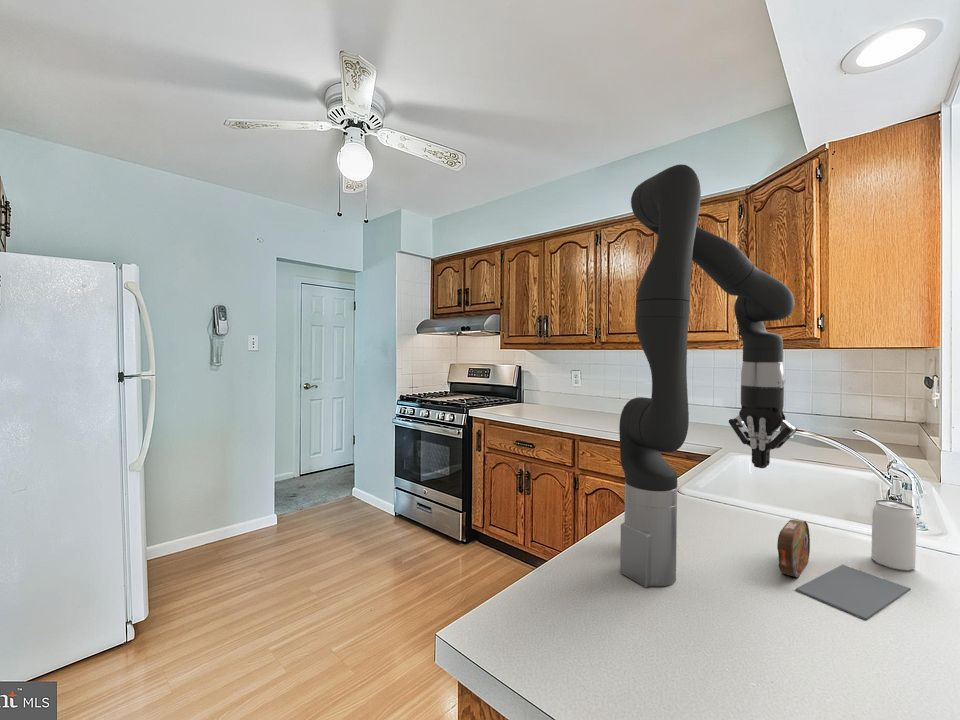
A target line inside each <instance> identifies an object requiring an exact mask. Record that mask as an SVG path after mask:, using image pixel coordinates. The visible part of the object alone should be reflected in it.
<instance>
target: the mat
mask: <svg viewBox="0 0 960 720" xmlns="http://www.w3.org/2000/svg"><path fill="white" fill-rule="evenodd" d="M795 591H796V592H798V593H801V594H804V595H806V596H807V597H810V598H813V599H815V600H818V601H820V602H822V603H823V604H826V605H827V604H828V605H830V606H832V607H834V608H836V609H839V610H841V611H844V612H846V613H848V614H851V615H853V616H856V617H858V618H859V619H863V620H864V621H867V620H869V619H870V618H872V617H873V616H875V615H876V614H878V613H879V612H881V611H882V610H884V609H885V608H886V607H888V606H890V604H892V603H894V601H896V600H898V599H899V598H900V597H902V596H904V595H905V594H906V593H908V592H910V591H911V587H909V586H905V585H902V584H900V583H896V582H893V581H890V580H888V579H885V578H884V577H880V576H877V575H874V574H871V573H868V572H865V571H862V570H861V569H857V568H854V567H852V566H851V567H850V566H848V565H845V564H841V565H839V566H837V567H835V568H833V569H831V570H829V571H827V572H825V573H824V574H823V573H822V574H821V575H819V576H818V577H814V578H813V579H812V580H810V581H807V582H806V583H804V584H802V585H799V586H797V587H796V588H795Z"/></svg>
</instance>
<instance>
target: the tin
mask: <svg viewBox="0 0 960 720" xmlns="http://www.w3.org/2000/svg"><path fill="white" fill-rule="evenodd" d="M810 536H811V535H810V529H809V525H808V522H807V521H806V520H798V519H789V520H788V522H787V523H786V524H784V526H783V527H782V528H781V529H780V531H779V534H778V537H777V543H776V544H777V545H776V546H777V554H778V569H779V571H780V573H781V574H784V575H786V576H790V577H794V578H800V576H801V575H802V573H803V571H804V570H805V568H806V566H807V565H808V563H809V560H810V551H811V550H810V549H811V539H810Z"/></svg>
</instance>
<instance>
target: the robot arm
mask: <svg viewBox="0 0 960 720" xmlns="http://www.w3.org/2000/svg"><path fill="white" fill-rule="evenodd" d="M701 191H702V189H701V184H700V179H699V176H698V175H697V173H696V172H695V170H694V169H693V168H692V167H691V166H689V165H687V164H676V165H673V166H670V167H667V168H665V169H663V170H661V171H660V172H658V173H657V174H655V175H653V176H651V177H649V178H647V179H645V180H644V181H642V182H641V183H639V184H638V185H637V186H636V187H635V188H634V190H633V191H632V194H631V199H630V207H631V209H632V210H631V211H632V213H633V215H634V217H635V218H636V220H638V222H640V223H641V224H642V225H643V226H644V227H646V228H647V229H648V230H650V231H651V232H652V233H654V234H655V235H656V236H657V242H656V246H655V248H654V252H653V254H652V257H651V258H650V261H649V264H648V265H647V267H646V269H645V271H644V273H643V276H642V278H641V280H640V283H639V285H638V288H637V292H636V299H635V302H636V303H635V317H634V318H635V319H634V322H635V323H634V327H635V332H636V335H637V339H638V341H639V344H640V346H641V348H642V351H643V353H644V355H645V357H646V359H647V362H648V365H649V369H650V373H651V374H650V375H651V397H642V396H640V397H634V398H632V399H629V401H627V402H626V404H625V405H624V406H623V408H622V411H621V414H620V417H619V426H618V427H619V430H618V431H619V432H618V433H619V434H618V435H619V453H620V455H619V456H620V465H621V467H622V470H623V473H624V518H623V519H624V520H623V521H624V522H622V523H620V544H619V545H620V546H619V547H620V551H619V552H620V559H619V560H620V562H619V564H620V565H619V566H620V567H619V573H620V574H622V575H624V576H625V577H627V578H629V579H631V580H632V581H635V582H636V583H637V584H640V585H641V586H643V587H645V588H648V587H667V586H671V585H673V584H674V583H675V582H676V580H677V578H676V577H677V537H678V536H677V535H678V534H677V529H678V522H677V520H678V474H677V472H676V470H675V468H673V467H672V466H671V465H670V464H669V463H668V462H667V461H666V460H665V458H664V456H663V455H662V453H669V454H670V453H674V452H677V451H678V450H679V449H680V448H681V447H682V446H683V445H684V443H685V441H686V439H687V435H688V431H689V422H690V421H689V419H690V418H689V417H690V416H689V413H690V412H689V399H688V395H689V394H688V380H687V379H688V376H687V375H688V374H687V372H688V371H687V364H688V362H687V360H688V334H689V333H688V332H689V322H690V308H691V307H690V306H691V303H690V302H691V281H692V279H691V277H692V265H693V262H694V263H695V264H696V265H697V266H699V268H701V270H703V271H704V272H705V273H706V275H708V276H709V278H711V280H713V282H715V284H716V285H718V287H719V288H720V289H721V290H722V291H724V292H725V293H726V294H728V295H730V296H736V299H735V301H734V308H733V309H734V316H735V319H736V323H737V326H738V330H739V334H740V336H741V337H740V338H741V340H742V364H741V365H742V366H741V370H740V372H741V373H740V406H741V408H740V410H739V412H738V415H737V416H736V417H734V418H730V419H729V420H728V424H729V426H731V428H732V429H733V431H734V432H735V434H736V436H737V437H738V438H739V440H740V441H741V443H742V444H743V445H747V446H749V447H750V449H751V463H752V465H753V466H754V468H759V469H766V468H767V466H769V465H770V464H771V463H770V462H771V461H770V460H771V458H770V457H771V455H770V453H771V450H774V449H780V448H781V447H782V446H783V445H784V444H785V443H787V441H788V440H789V439H791V437H792V436H793V435H794V434H796V433H797V432H798V427H797V426H796V425H791V423H789V422H788V421H787V420H786V416H785V414H784V411H783V410H784V400H785V399H784V397H785V394H784V393H785V381H786V380H785V372H784V371H785V369H784V363H783V362H784V340H783V337H782V336H781V335H780V334H778V333H774V332H769V331H768V330H767V329H766V326H765V323H764V322H770V321H771V322H773V321H781V320H783V319H786V318H788V317H789V316H790V315H791V314H792V312H793V311H794V308H795V298H794V295H793V293H792V291H791V290H790V289H789V287H788V286H787V285H786V284H784V283H783V282H782V281H780V279H779V280H778V279H777V278H775V277H774V276H772V275H770V274H769V273H767V272H765V271H763V270H762V269H759V268H758V267H756V266H755V264H754V263H753V262H752V261H751V260H750V259H749V258H748V256H747V255H746V254H744V253H743V251H742V250H741V249H739V248H738V246H736V245H735V244H734V243H732V242H730V241H729V240H727V239H725V238H723V237H720V236H718V235H716V234H714V233H712V232H709V231H707V230H705V229H703V228H701V227H700V226H699V225H698V219H699V213H700V207H701V199H702V195H701V194H702V192H701ZM778 429H779V433H778V434H777V435H776V436H775V432H777V430H778ZM774 436H775V437H774Z"/></svg>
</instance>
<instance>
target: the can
mask: <svg viewBox="0 0 960 720" xmlns="http://www.w3.org/2000/svg"><path fill="white" fill-rule="evenodd" d="M914 509H915V507H914V505H911V504H909V503H906V502H903V501H902V502H901V501H898V500H892V499H883V498H882V499H880V498H879V499H876V500H875V503H874V505H873V507H872V514H871V515H872V518H871V519H872V521H871V522H872V523H871V553H870V554H871V559H873V561H874V563H876V564H878V565H880V566H883V567H886V568H888V569H892V570H896V571H902V572H904V571H905V572H910V571H913V570H914V569H916V564H917V563H916V561H917V559H916V558H917V535H918V534H917V528H918V525H917V524H918V518H917V517H918V516H917V514H916V512H915V510H914Z"/></svg>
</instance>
